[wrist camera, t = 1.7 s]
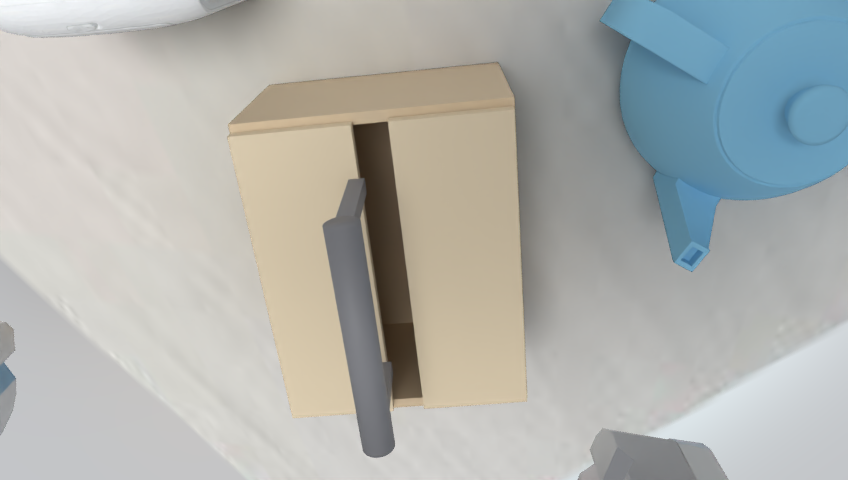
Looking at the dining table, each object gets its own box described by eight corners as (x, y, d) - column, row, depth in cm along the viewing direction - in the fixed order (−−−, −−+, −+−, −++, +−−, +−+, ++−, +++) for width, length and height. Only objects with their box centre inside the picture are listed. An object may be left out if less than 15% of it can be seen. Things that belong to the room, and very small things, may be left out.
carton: (497, 62, 40) (516, 101, 31) (511, 317, 48) (528, 406, 39) (269, 85, 41) (223, 129, 32) (318, 332, 48) (292, 423, 39)
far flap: (366, 120, 32) (349, 168, 26) (405, 402, 39) (400, 496, 33) (231, 132, 33) (180, 184, 26) (294, 410, 40) (267, 504, 33)
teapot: (851, -117, 36) (1006, -133, 26) (876, 137, 42) (1010, 201, 32) (575, -9, 38) (622, 13, 28) (635, 216, 44) (692, 298, 34)
